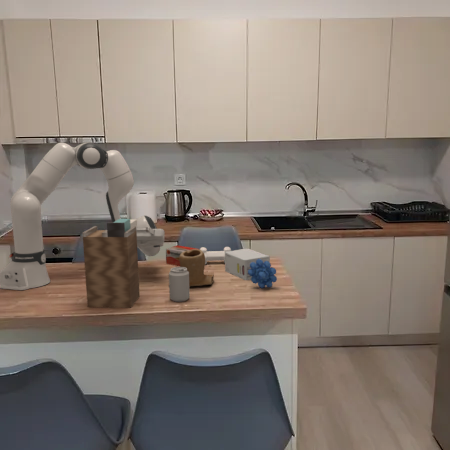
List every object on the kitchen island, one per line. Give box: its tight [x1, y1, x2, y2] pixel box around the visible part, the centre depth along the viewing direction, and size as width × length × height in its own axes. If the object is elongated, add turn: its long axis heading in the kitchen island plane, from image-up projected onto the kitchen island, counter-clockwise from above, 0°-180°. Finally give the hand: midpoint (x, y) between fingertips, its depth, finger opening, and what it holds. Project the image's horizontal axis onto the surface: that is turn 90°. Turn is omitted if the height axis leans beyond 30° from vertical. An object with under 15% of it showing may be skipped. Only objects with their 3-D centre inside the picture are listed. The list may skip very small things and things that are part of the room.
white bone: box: [199, 246, 232, 265], centre depth 226 cm, size 15×9×8 cm, turn 92°
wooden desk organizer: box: [82, 222, 140, 309], centre depth 173 cm, size 16×12×31 cm
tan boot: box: [179, 248, 215, 287], centre depth 192 cm, size 15×12×15 cm
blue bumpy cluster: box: [248, 259, 278, 289], centre depth 187 cm, size 12×7×12 cm, turn 85°
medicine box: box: [165, 245, 198, 267], centre depth 225 cm, size 15×8×8 cm, turn 54°
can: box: [168, 266, 191, 303], centre depth 176 cm, size 8×8×12 cm
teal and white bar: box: [113, 218, 137, 232], centre depth 175 cm, size 4×20×4 cm, turn 175°
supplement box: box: [224, 247, 271, 281], centre depth 209 cm, size 17×13×9 cm
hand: (135, 229), depth 189 cm, fingers open, 8 cm apart
